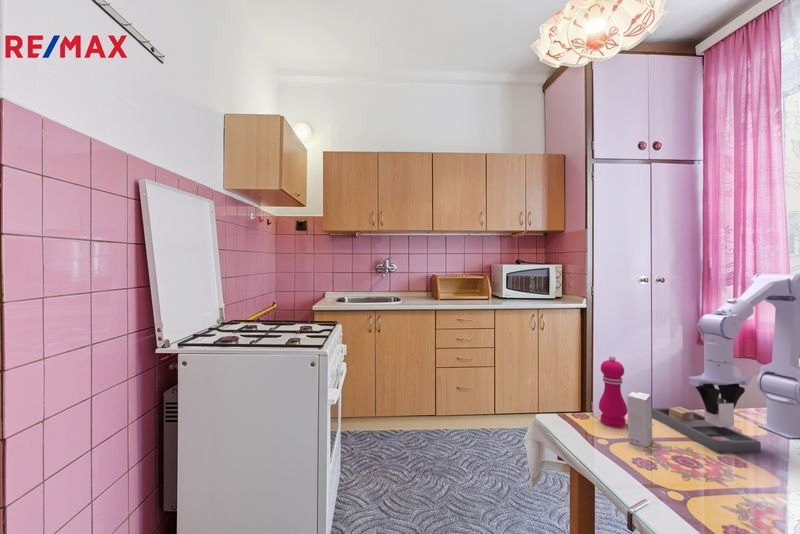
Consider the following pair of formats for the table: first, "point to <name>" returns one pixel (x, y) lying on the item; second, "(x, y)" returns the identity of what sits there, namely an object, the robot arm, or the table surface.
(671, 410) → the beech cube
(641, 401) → the skincare box
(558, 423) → the table surface
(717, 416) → the grey block with tab
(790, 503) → the table surface
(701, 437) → the grey slotted frame
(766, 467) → the table surface
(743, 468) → the table surface
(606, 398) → the pepper mill
